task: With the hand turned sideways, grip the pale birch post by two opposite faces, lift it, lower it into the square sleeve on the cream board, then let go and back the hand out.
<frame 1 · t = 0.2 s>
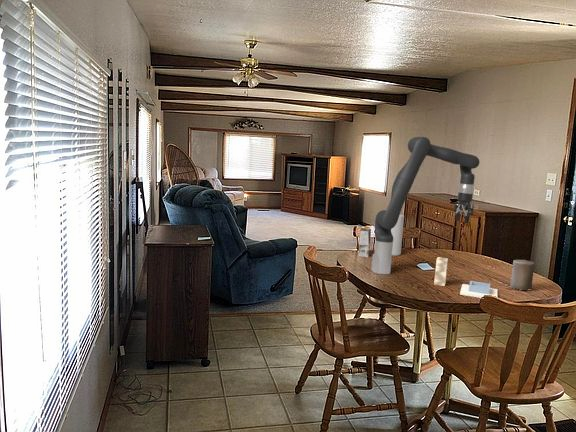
hand: (461, 221, 261), 28 cm above the table, tool pointing down, fingers open, 8 cm apart
coffee box: (363, 255, 296), on the table
pillar candle: (520, 288, 240), on the table
cylinder vase: (390, 254, 305), on the table
sleeve holder: (478, 292, 228), on the table
birch post: (439, 284, 240), on the table
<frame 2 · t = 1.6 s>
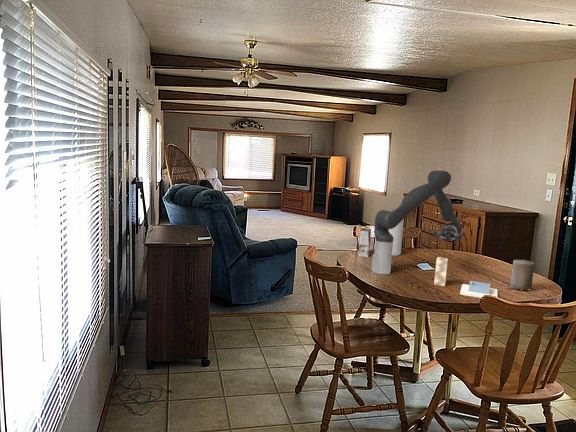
hand: (446, 237, 246), 22 cm above the table, tool horizontal, fingers open, 8 cm apart
nothing on the table moved.
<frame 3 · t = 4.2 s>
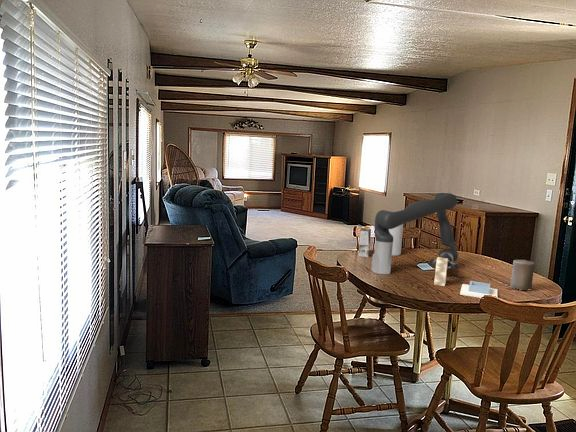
hand: (442, 266, 245), 8 cm above the table, tool horizontal, fingers open, 8 cm apart
nothing on the table moved.
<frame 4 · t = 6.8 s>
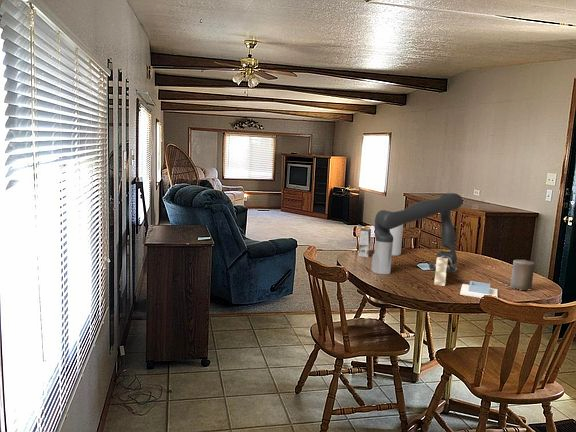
hand: (440, 270, 236), 8 cm above the table, tool horizontal, fingers closed on birch post, 5 cm apart
birch post: (439, 284, 240), on the table, touching gripper
everything else where it was.
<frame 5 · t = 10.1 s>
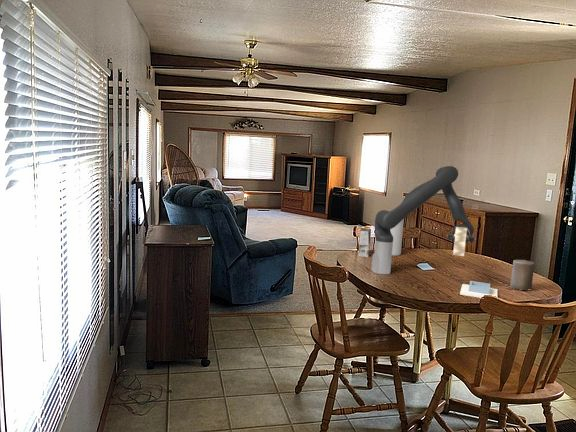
hand: (460, 240, 229), 24 cm above the table, tool horizontal, fingers closed on birch post, 5 cm apart
birch post: (458, 254, 233), point 16 cm above the table, touching gripper
everything else where it was.
when the fingers open (10 cm above the table, at t = 13.6 s): birch post drops 1 cm, resting on sleeve holder.
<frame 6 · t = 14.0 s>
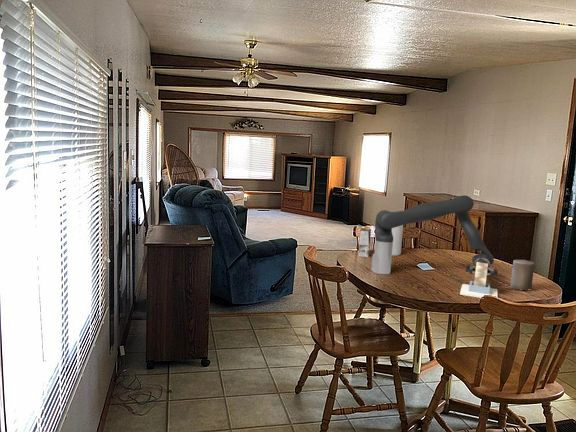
hand: (481, 273, 224), 10 cm above the table, tool horizontal, fingers open, 8 cm apart
birch post: (479, 290, 227), point 1 cm above the table, touching sleeve holder
everything else where it was.
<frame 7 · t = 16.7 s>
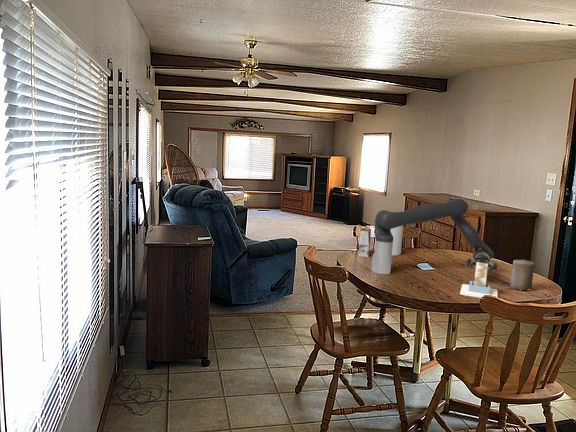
hand: (481, 267, 236), 10 cm above the table, tool horizontal, fingers open, 8 cm apart
nothing on the table moved.
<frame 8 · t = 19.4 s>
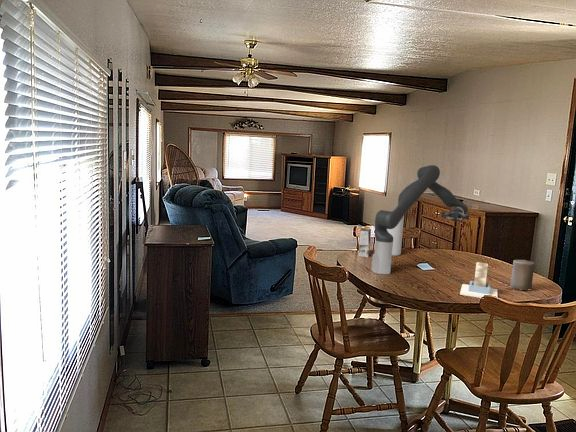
hand: (454, 217, 252), 32 cm above the table, tool horizontal, fingers open, 8 cm apart
nothing on the table moved.
at the end: birch post 0.1 cm off-centre on the sleeve holder, point 1.2 cm above the sleeve holder's base; birch post tilted 0°; the gripper is holding nothing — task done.
